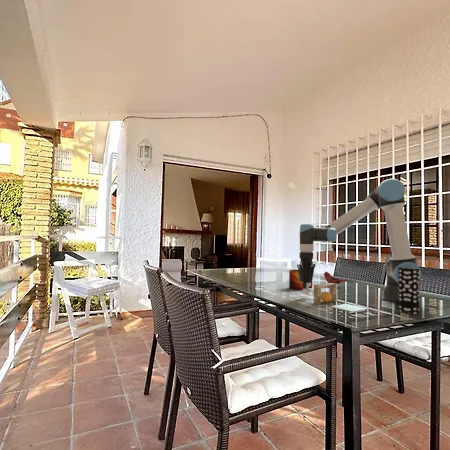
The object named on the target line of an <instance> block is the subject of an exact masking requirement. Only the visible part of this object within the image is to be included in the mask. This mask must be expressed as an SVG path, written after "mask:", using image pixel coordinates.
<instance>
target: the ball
mask: <svg viewBox="0 0 450 450" xmlns="http://www.w3.org/2000/svg"><path fill="white" fill-rule="evenodd" d="M329 292H330V291H323V292H321V302H323V303H330V302H332V301H331V299H332V296H331V294H330V293H329Z"/></svg>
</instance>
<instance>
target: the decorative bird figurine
mask: <svg viewBox="0 0 450 450" xmlns="http://www.w3.org/2000/svg"><path fill="white" fill-rule="evenodd" d="M323 275H324V278H325V281H326V282H327V284H328V283H334V284H337V285H339V284H340V283H342V282H346V281H347V279H340V278H339V277H336V276H334V275H333V274H331V273H330V272H328V271H324V273H323Z"/></svg>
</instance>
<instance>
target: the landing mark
mask: <svg viewBox="0 0 450 450" xmlns="http://www.w3.org/2000/svg"><path fill="white" fill-rule="evenodd" d="M331 307H332V308H335V309H339V310H342V311H347V312H352V313H356V312H360V311H366V310H368V308H367V307H362V306H357V305H354V304H349V303H343V304H342V303H341V304H337V305H331V306H330V308H331Z"/></svg>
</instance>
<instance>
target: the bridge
mask: <svg viewBox="0 0 450 450" xmlns="http://www.w3.org/2000/svg"><path fill="white" fill-rule="evenodd" d="M337 287H338V284H334V283H328V282H327V283H322V284H321V283H319V284H313V304H315V305H321V303H322V300H321V294H322V288H323V289H324V288H329V291H328V292H329V293H330V294H331V296H332V299H331V301H330V302H335V303H336V302H337V301H338V299H337V293H338V291H337Z"/></svg>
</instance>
